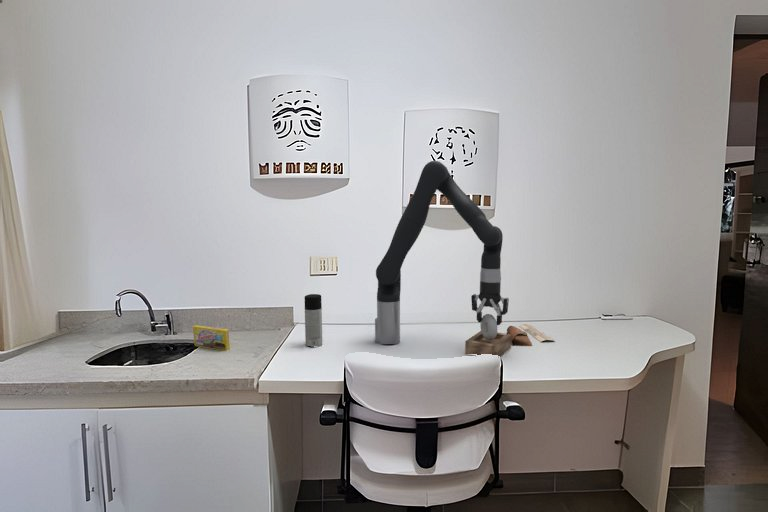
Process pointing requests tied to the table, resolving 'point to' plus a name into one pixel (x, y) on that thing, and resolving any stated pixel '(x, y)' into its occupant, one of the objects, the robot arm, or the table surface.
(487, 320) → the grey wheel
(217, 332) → the candy box
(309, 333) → the spray can
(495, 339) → the walnut base
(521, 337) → the sunglasses case
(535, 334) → the newspaper
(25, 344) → the table surface
